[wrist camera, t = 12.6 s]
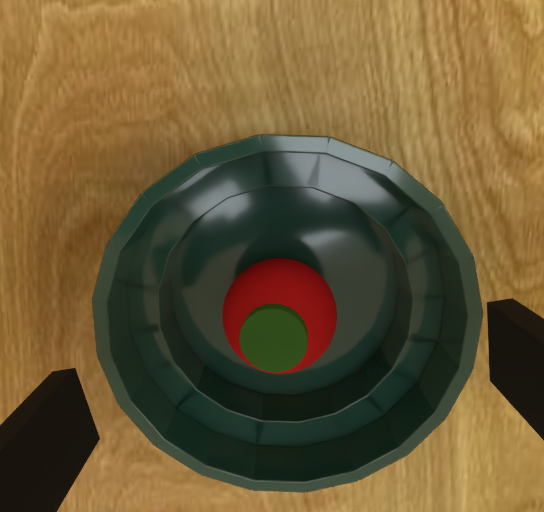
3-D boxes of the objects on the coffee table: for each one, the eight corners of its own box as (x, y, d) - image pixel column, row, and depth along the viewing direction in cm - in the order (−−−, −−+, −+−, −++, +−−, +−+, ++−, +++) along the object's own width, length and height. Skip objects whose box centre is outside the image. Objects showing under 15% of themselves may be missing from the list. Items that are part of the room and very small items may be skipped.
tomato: (222, 321, 21) (191, 372, 16) (253, 232, 20) (231, 257, 15) (312, 356, 21) (311, 419, 16) (350, 269, 19) (362, 306, 14)
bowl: (105, 369, 22) (56, 432, 17) (184, 89, 18) (151, 68, 13) (361, 451, 23) (384, 531, 18) (486, 203, 19) (556, 222, 15)
